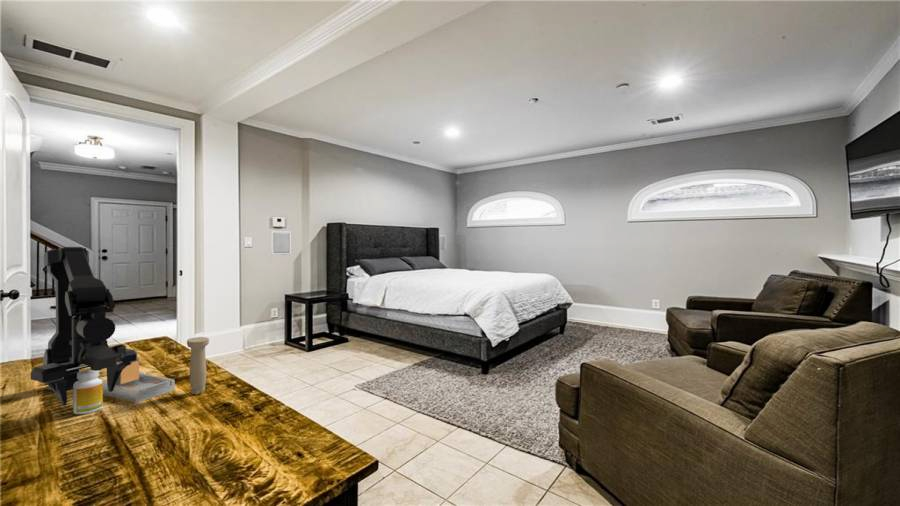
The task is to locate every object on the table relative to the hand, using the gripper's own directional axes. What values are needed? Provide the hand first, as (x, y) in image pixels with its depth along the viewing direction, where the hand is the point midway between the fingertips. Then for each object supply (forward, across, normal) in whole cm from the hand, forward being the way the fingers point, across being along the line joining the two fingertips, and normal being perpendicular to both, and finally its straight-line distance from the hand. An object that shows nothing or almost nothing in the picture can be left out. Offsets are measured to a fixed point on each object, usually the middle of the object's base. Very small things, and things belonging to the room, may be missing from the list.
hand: (88, 398), depth 95 cm
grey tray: (+3, +12, +2) cm, 13 cm away
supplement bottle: (+3, 0, 0) cm, 3 cm away
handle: (+3, +18, -14) cm, 23 cm away
